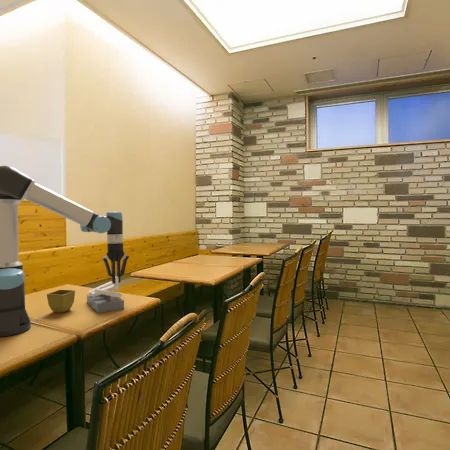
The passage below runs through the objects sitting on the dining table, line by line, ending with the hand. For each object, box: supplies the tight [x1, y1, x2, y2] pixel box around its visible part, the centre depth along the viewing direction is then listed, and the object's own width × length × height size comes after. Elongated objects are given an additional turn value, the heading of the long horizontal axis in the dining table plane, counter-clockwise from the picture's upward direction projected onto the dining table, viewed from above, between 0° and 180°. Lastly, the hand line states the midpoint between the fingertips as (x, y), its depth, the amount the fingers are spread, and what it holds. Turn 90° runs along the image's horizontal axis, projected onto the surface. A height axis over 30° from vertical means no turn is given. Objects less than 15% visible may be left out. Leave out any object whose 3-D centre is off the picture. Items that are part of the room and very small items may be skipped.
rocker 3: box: [94, 287, 123, 298], centre depth 158 cm, size 12×3×2 cm, turn 124°
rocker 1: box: [87, 280, 114, 295], centre depth 168 cm, size 12×3×2 cm, turn 124°
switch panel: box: [86, 293, 125, 314], centre depth 163 cm, size 12×22×6 cm, turn 34°
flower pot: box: [46, 289, 76, 314], centre depth 154 cm, size 9×9×9 cm
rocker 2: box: [91, 285, 118, 297], centre depth 163 cm, size 12×3×2 cm, turn 124°
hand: (116, 289), depth 166 cm, fingers closed, pressing on rocker 2
